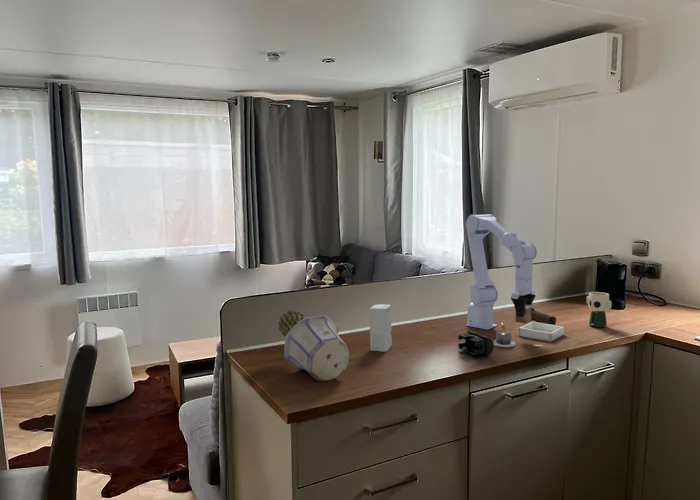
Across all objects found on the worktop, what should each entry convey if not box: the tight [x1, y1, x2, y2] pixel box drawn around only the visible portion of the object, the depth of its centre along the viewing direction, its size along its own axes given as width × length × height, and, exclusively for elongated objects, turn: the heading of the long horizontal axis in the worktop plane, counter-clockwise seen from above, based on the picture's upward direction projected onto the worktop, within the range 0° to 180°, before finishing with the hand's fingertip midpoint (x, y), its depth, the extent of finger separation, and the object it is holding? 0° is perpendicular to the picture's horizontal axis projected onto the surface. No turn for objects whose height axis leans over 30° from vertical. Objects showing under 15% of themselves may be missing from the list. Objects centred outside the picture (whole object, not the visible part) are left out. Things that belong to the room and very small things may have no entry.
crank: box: [495, 321, 512, 344], centre depth 190 cm, size 13×5×5 cm, turn 168°
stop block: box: [515, 304, 533, 325], centre depth 191 cm, size 4×4×6 cm
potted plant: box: [277, 309, 350, 382], centre depth 164 cm, size 18×18×30 cm
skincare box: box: [369, 303, 393, 353], centre depth 183 cm, size 8×6×15 cm
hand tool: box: [531, 307, 557, 325], centre depth 218 cm, size 19×4×5 cm, turn 15°
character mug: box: [586, 291, 612, 328], centre depth 207 cm, size 11×7×13 cm, turn 26°
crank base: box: [492, 339, 544, 349], centre depth 186 cm, size 17×8×1 cm, turn 78°
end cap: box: [457, 330, 495, 360], centre depth 176 cm, size 10×7×7 cm
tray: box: [518, 321, 565, 342], centre depth 197 cm, size 12×12×3 cm
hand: (522, 315), depth 191 cm, fingers closed on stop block, 4 cm apart
